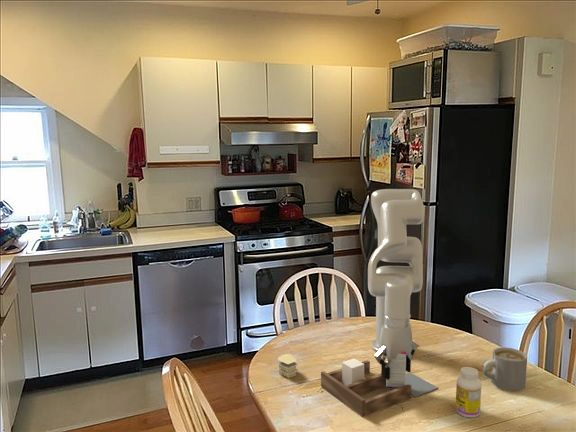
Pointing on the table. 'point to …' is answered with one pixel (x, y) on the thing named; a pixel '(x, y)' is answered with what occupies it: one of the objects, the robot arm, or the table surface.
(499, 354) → the coffee mug
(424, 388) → the mat
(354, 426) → the table surface
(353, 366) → the off-white block
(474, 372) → the supplement bottle
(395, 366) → the supplement box
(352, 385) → the lane rack
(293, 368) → the beige ridged block
